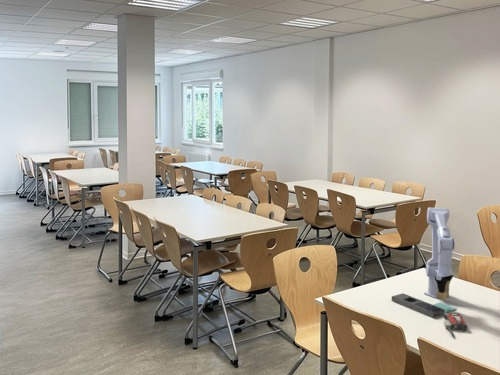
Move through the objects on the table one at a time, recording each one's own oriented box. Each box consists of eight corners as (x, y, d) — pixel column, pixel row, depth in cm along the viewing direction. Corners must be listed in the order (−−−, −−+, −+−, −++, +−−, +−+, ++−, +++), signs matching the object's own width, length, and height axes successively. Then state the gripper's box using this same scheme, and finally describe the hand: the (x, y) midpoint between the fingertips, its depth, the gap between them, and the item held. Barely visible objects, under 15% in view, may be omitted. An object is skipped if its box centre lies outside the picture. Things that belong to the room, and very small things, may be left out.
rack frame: (402, 297, 242) (403, 293, 241) (444, 314, 221) (444, 309, 221) (391, 300, 237) (391, 296, 237) (432, 317, 217) (433, 312, 217)
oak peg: (439, 295, 230) (440, 278, 229) (448, 297, 228) (449, 280, 227) (436, 297, 227) (437, 281, 226) (445, 299, 225) (446, 283, 224)
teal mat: (440, 303, 234) (440, 302, 234) (456, 309, 227) (456, 308, 227) (427, 306, 230) (427, 306, 230) (444, 313, 222) (444, 312, 222)
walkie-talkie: (439, 318, 218) (450, 338, 198) (439, 309, 217) (450, 328, 197) (459, 319, 216) (473, 339, 197) (460, 310, 216) (473, 329, 196)
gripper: (441, 258, 233) (440, 285, 235) (430, 264, 222) (428, 293, 224) (457, 260, 228) (455, 288, 230) (446, 267, 218) (444, 297, 220)
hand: (443, 291), depth 227 cm, fingers closed on oak peg, 4 cm apart
